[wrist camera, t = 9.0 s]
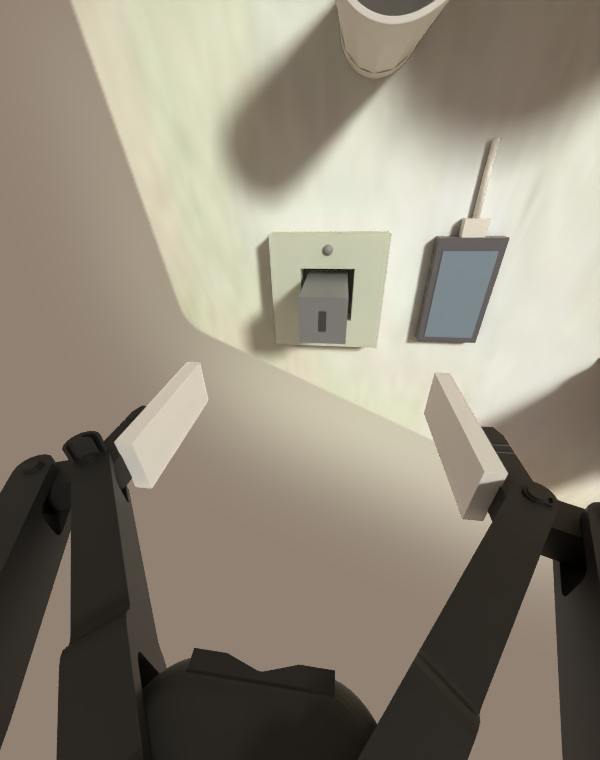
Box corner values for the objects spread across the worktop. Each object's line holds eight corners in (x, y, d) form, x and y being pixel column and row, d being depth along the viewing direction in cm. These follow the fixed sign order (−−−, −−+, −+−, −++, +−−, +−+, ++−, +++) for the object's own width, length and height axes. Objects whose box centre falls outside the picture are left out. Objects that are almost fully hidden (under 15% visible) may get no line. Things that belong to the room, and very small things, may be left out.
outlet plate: (273, 232, 32) (267, 235, 29) (388, 231, 30) (391, 234, 28) (279, 335, 38) (275, 344, 36) (374, 339, 37) (376, 348, 34)
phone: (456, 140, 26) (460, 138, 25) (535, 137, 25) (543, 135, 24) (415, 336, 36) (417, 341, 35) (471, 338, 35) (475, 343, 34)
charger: (309, 270, 33) (298, 297, 25) (347, 270, 33) (348, 298, 24) (309, 307, 35) (299, 343, 27) (344, 307, 35) (345, 344, 27)
